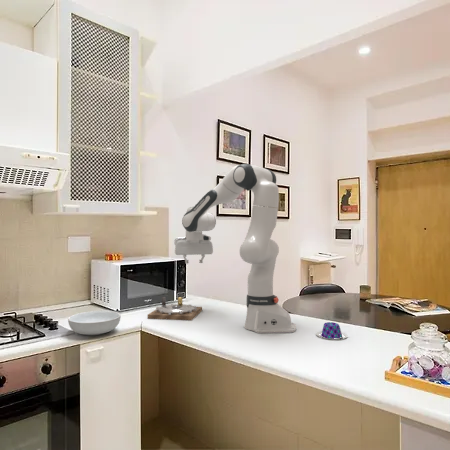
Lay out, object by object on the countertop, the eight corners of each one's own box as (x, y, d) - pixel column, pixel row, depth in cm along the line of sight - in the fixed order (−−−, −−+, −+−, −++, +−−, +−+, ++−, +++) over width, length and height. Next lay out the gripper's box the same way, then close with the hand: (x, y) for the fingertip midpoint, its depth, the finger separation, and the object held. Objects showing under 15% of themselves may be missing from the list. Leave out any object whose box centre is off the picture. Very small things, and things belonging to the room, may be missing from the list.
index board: (202, 310, 196) (202, 297, 196) (191, 320, 174) (191, 305, 174) (162, 309, 200) (162, 296, 200) (147, 318, 178) (147, 304, 178)
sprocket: (200, 306, 196) (200, 296, 196) (190, 315, 175) (190, 304, 175) (163, 305, 199) (163, 295, 199) (149, 313, 178) (149, 303, 178)
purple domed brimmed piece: (347, 342, 140) (347, 328, 140) (315, 339, 143) (314, 326, 144) (347, 334, 151) (346, 321, 151) (317, 331, 155) (316, 319, 155)
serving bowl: (56, 337, 147) (56, 319, 148) (89, 324, 167) (89, 309, 168) (100, 341, 141) (101, 323, 141) (130, 328, 161) (130, 312, 161)
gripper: (175, 237, 191) (175, 264, 190) (213, 237, 196) (213, 263, 196) (173, 237, 197) (173, 263, 196) (210, 237, 202) (211, 262, 202)
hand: (194, 263), depth 196 cm, fingers open, 6 cm apart
